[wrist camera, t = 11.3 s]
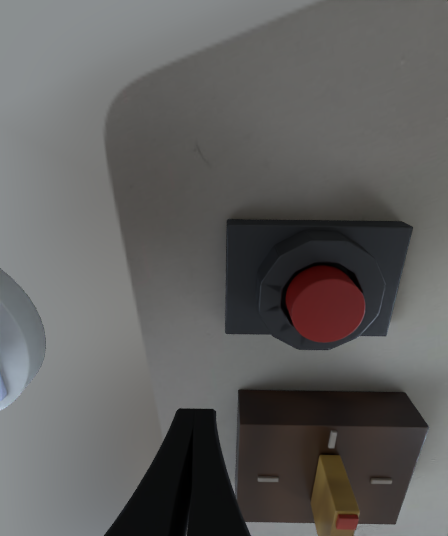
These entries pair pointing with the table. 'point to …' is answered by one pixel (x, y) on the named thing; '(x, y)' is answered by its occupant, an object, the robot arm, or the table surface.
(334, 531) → the yellow rectangular block
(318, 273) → the bell button
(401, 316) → the table surface
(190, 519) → the robot arm
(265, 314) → the dark grey button mount
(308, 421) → the plate
